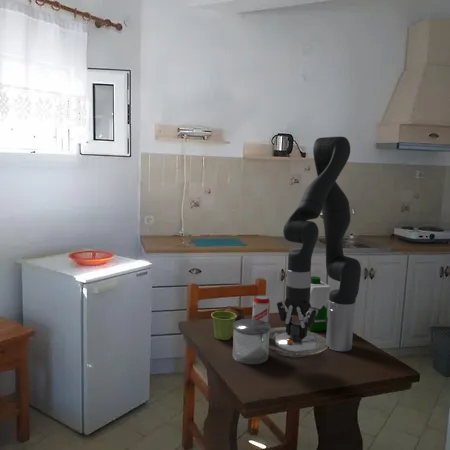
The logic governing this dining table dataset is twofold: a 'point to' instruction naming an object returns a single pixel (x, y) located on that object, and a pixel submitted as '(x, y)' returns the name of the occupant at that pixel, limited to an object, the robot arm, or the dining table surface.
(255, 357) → the cooker pot
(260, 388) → the dining table surface
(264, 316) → the beer can
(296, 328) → the cooker lid
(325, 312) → the milk carton
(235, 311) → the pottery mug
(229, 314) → the plant pot
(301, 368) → the dining table surface
